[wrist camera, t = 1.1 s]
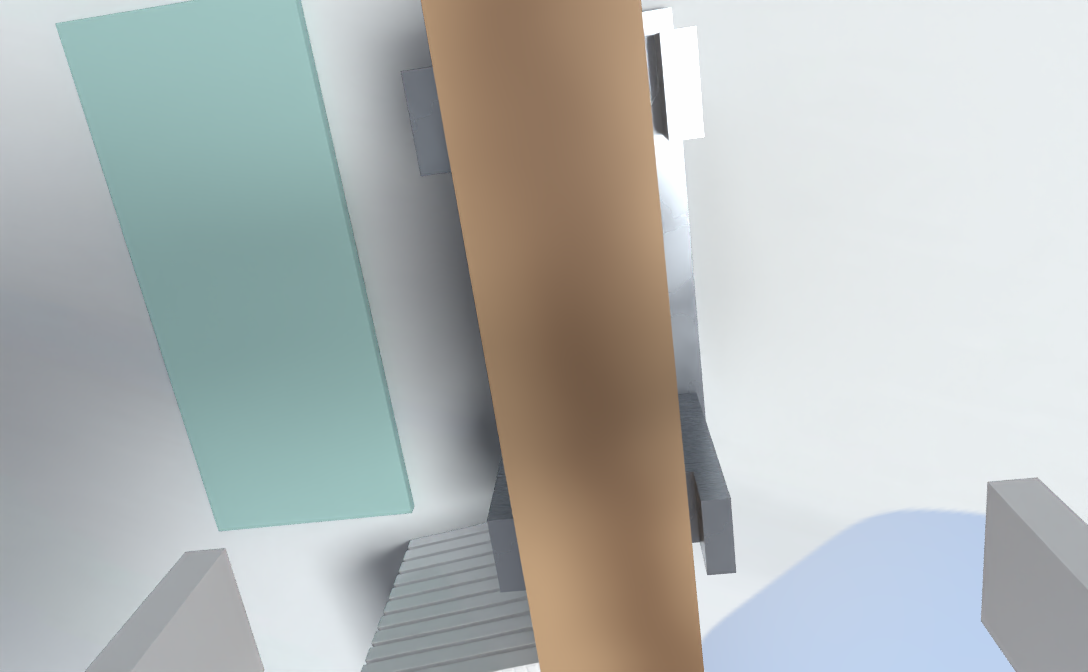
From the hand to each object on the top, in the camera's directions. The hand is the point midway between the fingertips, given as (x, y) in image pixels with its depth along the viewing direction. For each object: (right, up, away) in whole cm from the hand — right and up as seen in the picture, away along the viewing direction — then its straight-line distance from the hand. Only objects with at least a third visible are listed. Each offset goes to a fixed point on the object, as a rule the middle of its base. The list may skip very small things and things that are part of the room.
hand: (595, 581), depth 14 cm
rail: (0, +5, +13) cm, 14 cm away
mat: (-14, +7, +22) cm, 27 cm away
